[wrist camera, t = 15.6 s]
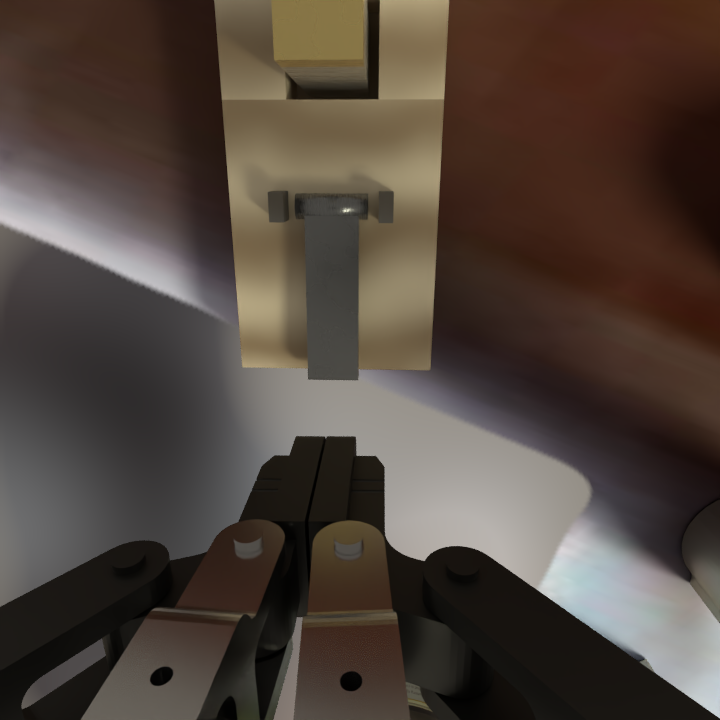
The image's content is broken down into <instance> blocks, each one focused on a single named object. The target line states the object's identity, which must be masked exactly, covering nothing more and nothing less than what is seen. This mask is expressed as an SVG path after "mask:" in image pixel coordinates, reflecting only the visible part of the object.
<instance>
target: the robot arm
mask: <svg viewBox="0 0 720 720" xmlns="http://www.w3.org/2000/svg"><path fill="white" fill-rule="evenodd" d="M384 500H385V499H384V466H383V465H382V463H381V462H380V461H379V459H378V458H377V457H376V456H356V437H334V436H330V437H329V436H328V437H327V438H325V437H319V436H317V437H314V436H305V437H304V436H296V438H295V441H294V444H293V447H292V450H291V453H290V455H289V456H273V457H272V458H271V459H270V460H269V461H267V462H266V463H265V464H264V465H263V466H262V467H261V469H260V472H259V474H258V477H257V481H255V484H254V486H253V488H252V492H251V493H250V496H249V498H248V500H247V503H246V505H245V508H244V510H243V512H242V515H241V517H240V519H239V522H238V523H235V524H233V525H230V526H228V527H227V528H225V529H224V530H222V531H221V532H220V533H219V534H218V535H217V536H216V538H215V539H214V541H213V543H212V545H211V546H210V548H209V550H208V551H207V552H205V553H202V554H199V555H195V556H190V557H185V558H181V559H176V560H171V561H170V559H169V552H168V550H167V548H165V546H163V545H162V544H160V543H157V542H154V541H145V540H144V541H134V542H129V543H126V544H122V545H119V546H117V547H115V548H113V549H111V550H109V551H107V552H105V553H103V554H101V555H99V556H97V557H95V558H93V559H91V560H90V561H88V562H86V563H84V564H82V565H80V566H78V567H76V568H74V569H72V570H71V571H68V572H66V573H65V574H63V575H61V576H59V577H57V578H55V579H53V580H51V581H49V582H47V583H45V584H43V585H41V586H40V587H38V588H36V589H34V590H32V591H30V592H28V593H26V594H24V595H23V596H20V597H18V598H17V599H14V600H13V601H11V602H9V603H7V604H5V605H3V606H1V607H0V720H273V719H274V715H275V712H276V708H277V705H278V701H279V697H280V694H281V690H282V686H283V683H284V680H285V676H286V673H287V669H288V665H289V662H290V658H291V655H292V650H293V642H292V635H293V632H294V628H295V623H296V618H297V617H303V621H302V630H301V641H300V652H299V664H298V675H297V687H296V699H295V709H294V720H410V712H409V705H408V697H407V689H406V682H408V683H411V684H414V685H417V686H419V687H420V692H421V695H422V698H423V700H424V701H425V703H426V704H427V706H428V707H429V708H430V709H431V711H432V712H433V713H434V714H435V715H436V716H437V717H438V718H439V719H440V720H720V718H718V717H717V716H715V715H714V714H712V713H711V712H710V711H708V710H707V709H705V708H704V707H703V706H701V705H700V704H698V703H697V702H695V701H694V700H693V699H691V698H690V697H688V696H687V695H685V694H684V693H683V692H681V691H680V690H678V689H677V688H676V687H674V686H673V685H671V684H670V683H668V682H667V681H666V680H664V679H663V678H661V677H660V676H658V675H657V674H656V673H654V672H653V671H651V670H650V669H648V668H647V667H646V666H644V665H643V664H641V663H640V662H639V661H637V660H636V659H634V658H633V657H631V656H630V655H629V654H627V653H626V652H624V651H623V650H621V649H620V648H619V647H617V646H616V645H614V644H613V643H612V642H610V641H609V640H607V639H606V638H604V637H603V636H602V635H600V634H599V633H597V632H596V631H594V630H593V629H592V628H590V627H589V626H587V625H586V624H585V623H583V622H582V621H580V620H579V619H577V618H576V617H575V616H573V615H572V614H570V613H569V612H567V611H566V610H565V609H563V608H562V607H560V606H559V605H558V604H556V603H555V602H553V601H552V600H550V599H549V598H548V597H546V596H545V595H543V594H542V593H540V592H539V591H538V590H536V589H535V588H533V587H532V586H530V585H529V584H527V583H526V582H525V581H523V580H522V579H521V578H519V577H518V576H516V575H515V574H513V573H512V572H510V571H509V570H508V569H506V568H505V567H503V566H502V565H501V564H499V563H498V562H496V561H495V560H493V559H492V558H491V557H489V556H487V555H486V554H484V553H483V552H480V551H478V550H475V549H472V548H468V547H462V546H451V547H445V548H441V549H439V550H436V551H434V552H433V553H431V554H430V555H429V556H428V557H427V559H426V560H425V561H421V560H417V559H414V558H410V557H407V556H405V555H403V554H401V553H400V552H398V551H396V550H395V549H394V548H393V547H392V546H391V545H390V544H389V543H388V541H387V539H386V537H385V528H384V527H385V522H384V520H385V519H384V517H385V515H384V514H385V513H384V512H385V511H384V510H385V506H384ZM682 556H683V560H684V563H685V565H686V566H687V568H688V569H689V571H690V572H691V574H692V578H691V582H690V584H691V586H692V587H693V588H694V590H695V591H696V592H697V594H698V595H699V596H700V598H701V599H702V600H703V602H704V603H705V604H706V606H707V607H708V608H709V610H710V611H711V612H712V614H713V615H714V616H715V618H716V619H717V620H718V622H719V623H720V500H717V501H716V502H714V503H712V504H711V505H709V506H707V507H706V508H705V509H703V510H702V511H701V512H700V513H699V514H698V515H697V516H696V517H695V518H694V519H693V520H692V522H691V523H690V524H689V526H688V528H687V530H686V532H685V534H684V537H683V541H682ZM101 638H102V640H103V645H104V649H105V653H106V656H105V657H103V658H102V659H101V660H99V661H98V662H96V663H94V664H93V665H91V666H90V667H88V668H87V669H85V670H84V671H82V672H81V673H79V674H78V675H76V676H75V677H73V678H72V679H70V680H69V681H67V682H66V683H64V684H63V685H61V686H60V687H58V688H57V689H55V690H54V691H52V692H51V693H49V694H48V695H46V696H44V697H43V698H41V699H40V700H38V701H37V702H35V703H34V704H32V705H31V706H29V707H27V708H25V709H22V708H21V703H22V700H23V697H24V695H25V693H26V692H27V690H28V689H29V688H30V686H31V685H32V684H33V683H34V682H35V681H36V680H38V679H39V678H40V677H42V676H43V675H45V674H46V673H48V672H49V671H51V670H52V669H54V668H56V667H57V666H59V665H60V664H62V663H64V662H65V661H67V660H68V659H70V658H71V657H73V656H75V655H76V654H78V653H79V652H81V651H82V650H84V649H85V648H87V647H89V646H90V645H92V644H94V643H95V642H97V641H98V640H100V639H101Z"/></svg>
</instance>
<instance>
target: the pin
mask: <svg viewBox="0 0 720 720" xmlns="http://www.w3.org/2000/svg"><path fill="white" fill-rule="evenodd" d="M271 5H272V26H273V48H274V60H275V61H276V62H277V63H278V64H279V66H280V67H281V68H282V69H283V70H284V71H285V72H286V73H287V74H288V75H289V76H290V77H291V78H292V79H293V80H294V81H295V82H296V83H297V84H298V85H299V86H300V87H301V88H302V89H303V90H304V91H305V92H306V93H307V94H308V95H309V96H310V97H369V52H370V27H369V15H368V3H367V0H271Z"/></svg>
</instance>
